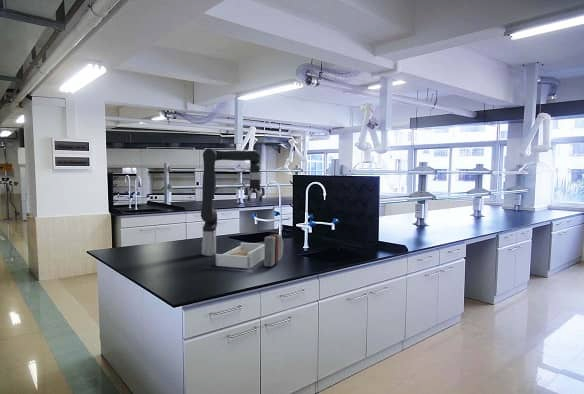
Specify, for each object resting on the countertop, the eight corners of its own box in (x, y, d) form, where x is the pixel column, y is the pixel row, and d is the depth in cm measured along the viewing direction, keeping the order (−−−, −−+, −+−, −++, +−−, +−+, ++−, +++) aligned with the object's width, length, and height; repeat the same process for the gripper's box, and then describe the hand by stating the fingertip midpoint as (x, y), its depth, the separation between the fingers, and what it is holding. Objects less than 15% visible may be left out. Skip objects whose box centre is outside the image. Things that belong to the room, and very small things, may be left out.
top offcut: (229, 257, 243) (229, 254, 243) (243, 253, 256) (243, 250, 256) (236, 258, 240) (236, 255, 240) (250, 254, 253) (250, 251, 253)
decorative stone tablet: (273, 236, 225) (284, 233, 254) (263, 236, 226) (275, 232, 255) (272, 268, 224) (283, 261, 254) (262, 267, 226) (274, 260, 255)
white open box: (215, 267, 230) (215, 251, 229) (241, 253, 268) (241, 239, 268) (249, 269, 224) (249, 253, 223) (270, 255, 262) (270, 241, 262)
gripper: (243, 178, 262) (243, 201, 263) (262, 179, 258) (262, 202, 259) (247, 178, 269) (247, 200, 270) (266, 179, 266) (266, 201, 267)
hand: (254, 201), depth 265 cm, fingers open, 8 cm apart
